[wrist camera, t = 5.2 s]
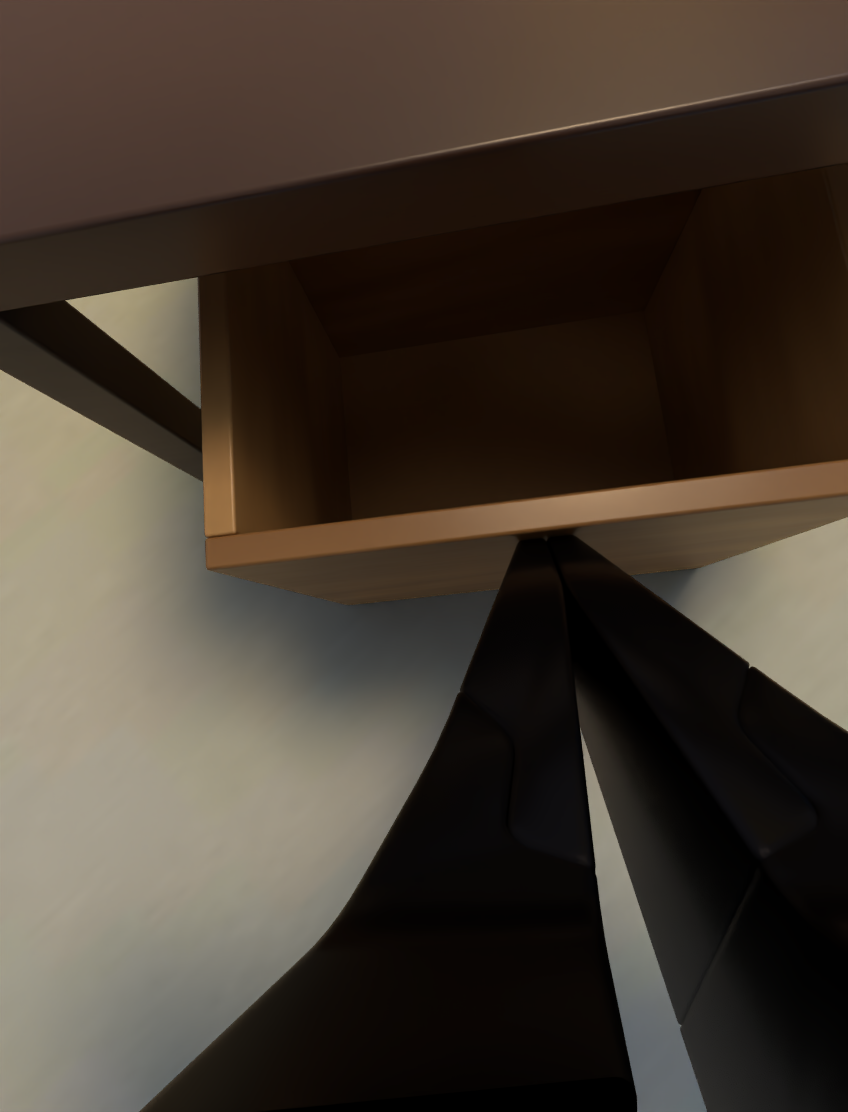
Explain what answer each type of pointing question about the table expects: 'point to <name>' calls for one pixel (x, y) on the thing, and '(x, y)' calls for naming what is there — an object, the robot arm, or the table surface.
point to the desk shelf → (357, 143)
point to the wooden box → (532, 393)
